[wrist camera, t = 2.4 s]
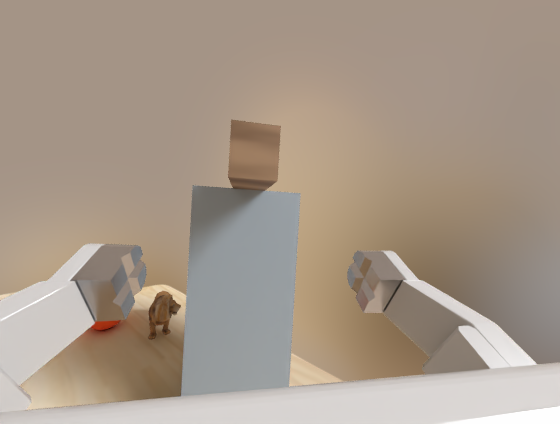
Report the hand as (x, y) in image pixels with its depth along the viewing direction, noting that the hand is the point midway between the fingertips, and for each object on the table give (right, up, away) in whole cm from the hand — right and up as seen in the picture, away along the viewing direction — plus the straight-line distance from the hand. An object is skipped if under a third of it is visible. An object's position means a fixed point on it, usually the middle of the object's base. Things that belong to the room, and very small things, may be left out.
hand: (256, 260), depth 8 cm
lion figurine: (-24, -23, +38) cm, 51 cm away
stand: (-5, -24, +22) cm, 34 cm away
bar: (-3, +4, +18) cm, 19 cm away
